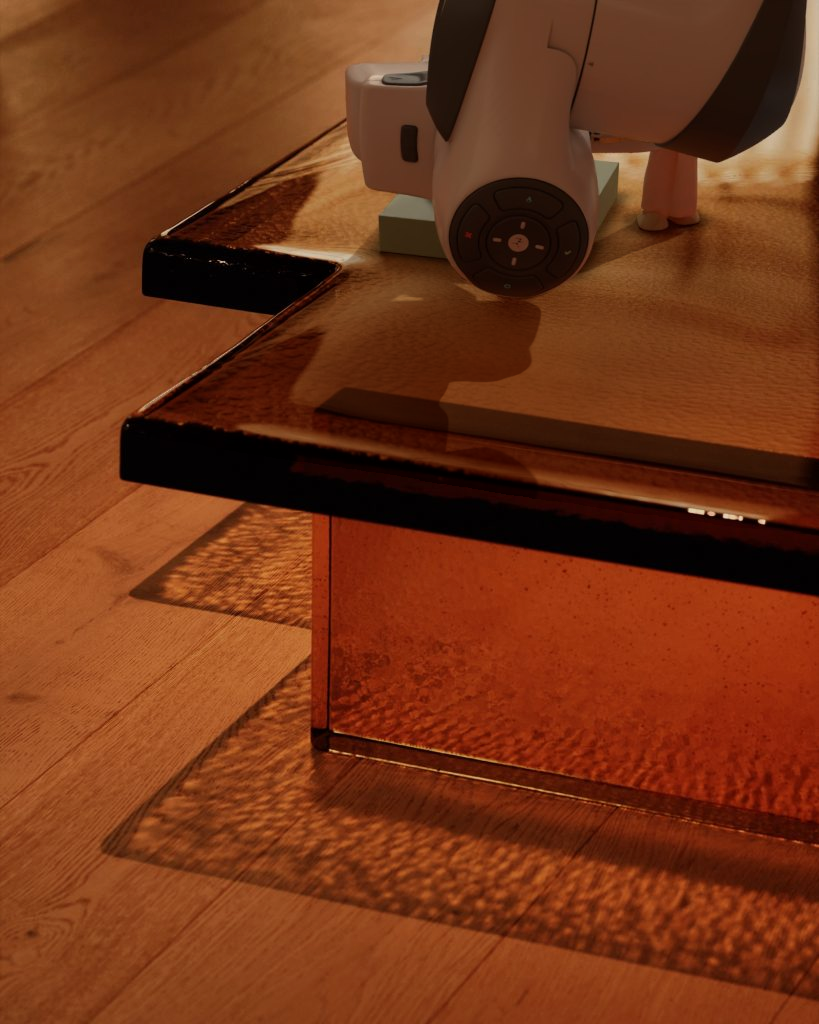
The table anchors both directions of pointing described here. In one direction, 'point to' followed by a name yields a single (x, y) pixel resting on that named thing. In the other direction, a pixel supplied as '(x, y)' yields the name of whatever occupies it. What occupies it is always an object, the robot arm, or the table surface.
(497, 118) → the robot arm
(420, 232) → the scale
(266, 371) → the table surface
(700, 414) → the table surface
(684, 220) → the grandmother figurine
